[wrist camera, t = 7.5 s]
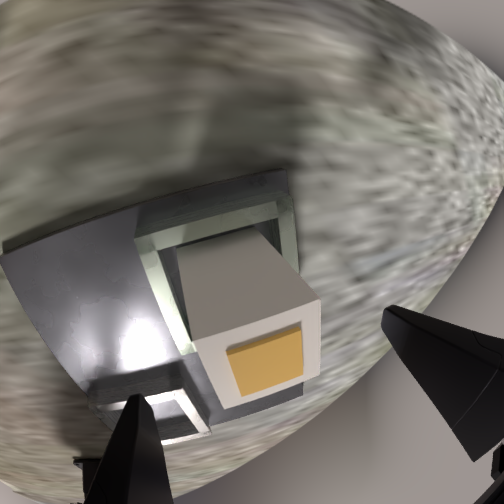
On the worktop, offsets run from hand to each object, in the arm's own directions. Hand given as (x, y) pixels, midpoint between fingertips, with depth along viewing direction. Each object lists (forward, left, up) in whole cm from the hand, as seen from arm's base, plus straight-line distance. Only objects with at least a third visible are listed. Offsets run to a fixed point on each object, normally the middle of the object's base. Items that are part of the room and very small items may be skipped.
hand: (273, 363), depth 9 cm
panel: (-5, +4, -7) cm, 10 cm away
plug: (0, 0, -7) cm, 7 cm away
